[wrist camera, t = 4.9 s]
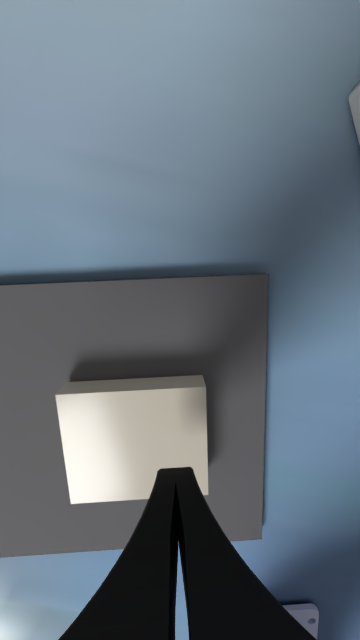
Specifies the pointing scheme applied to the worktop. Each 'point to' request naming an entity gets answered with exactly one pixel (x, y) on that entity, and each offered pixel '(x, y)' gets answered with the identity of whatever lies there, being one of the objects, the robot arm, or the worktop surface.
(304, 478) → the worktop surface
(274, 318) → the worktop surface
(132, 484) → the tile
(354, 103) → the jar
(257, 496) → the mat
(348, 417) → the worktop surface
